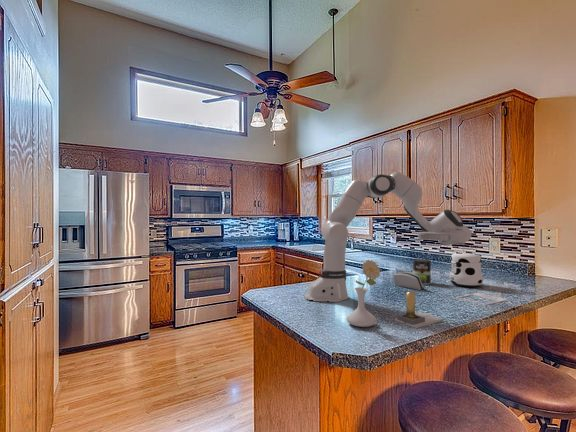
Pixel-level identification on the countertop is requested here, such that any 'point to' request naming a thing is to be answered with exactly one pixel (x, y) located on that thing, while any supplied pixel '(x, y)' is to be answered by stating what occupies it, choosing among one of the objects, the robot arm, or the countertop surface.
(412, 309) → the hinge pin
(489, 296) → the photo frame
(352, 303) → the countertop surface
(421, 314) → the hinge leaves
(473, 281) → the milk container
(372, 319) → the flower in vase
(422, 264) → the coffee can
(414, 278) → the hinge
